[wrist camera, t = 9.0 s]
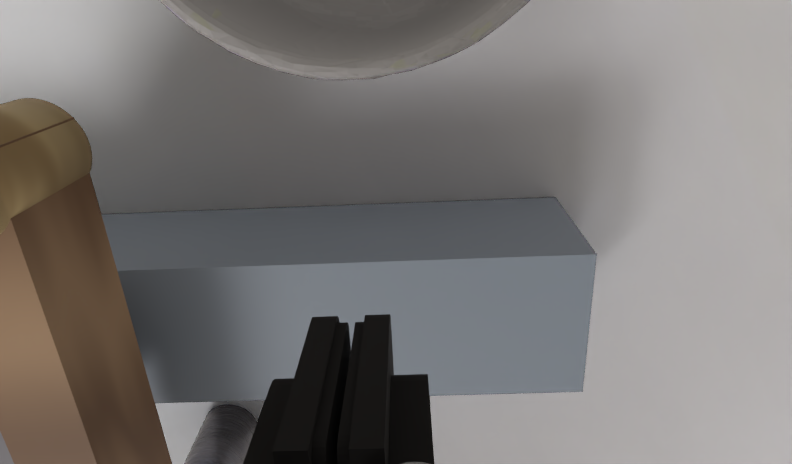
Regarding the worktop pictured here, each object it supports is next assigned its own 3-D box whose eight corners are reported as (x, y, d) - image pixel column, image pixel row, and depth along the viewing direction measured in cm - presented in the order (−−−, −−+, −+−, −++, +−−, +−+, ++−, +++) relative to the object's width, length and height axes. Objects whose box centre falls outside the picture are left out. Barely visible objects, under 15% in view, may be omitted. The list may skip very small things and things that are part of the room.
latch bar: (234, 603, 20) (206, 702, 17) (134, 606, 20) (91, 704, 17) (101, 94, 13) (20, 121, 10) (-50, 102, 13) (-171, 132, 10)
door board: (547, 312, 23) (626, 490, 15) (-23, 329, 24) (-249, 508, 16) (555, 197, 21) (651, 328, 13) (-66, 220, 22) (-351, 359, 14)
